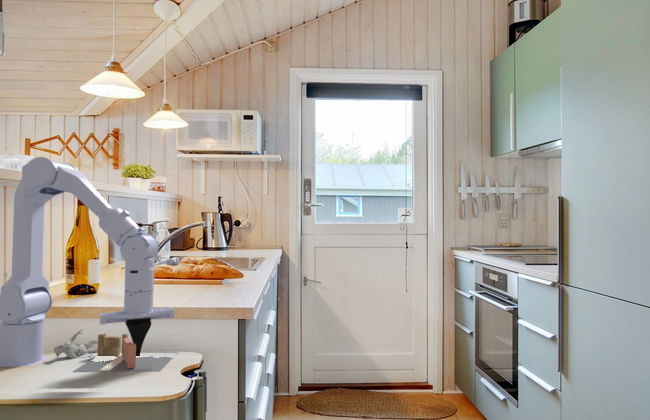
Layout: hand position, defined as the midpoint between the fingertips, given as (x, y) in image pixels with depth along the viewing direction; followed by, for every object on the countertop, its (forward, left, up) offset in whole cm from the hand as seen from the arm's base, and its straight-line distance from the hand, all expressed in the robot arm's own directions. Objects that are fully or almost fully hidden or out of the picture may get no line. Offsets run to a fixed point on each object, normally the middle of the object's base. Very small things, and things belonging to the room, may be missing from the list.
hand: (137, 355), depth 94 cm
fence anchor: (-8, +6, -2) cm, 9 cm away
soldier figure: (-14, +8, -3) cm, 16 cm away
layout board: (-2, +2, -2) cm, 3 cm away
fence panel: (-2, 0, -2) cm, 2 cm away
